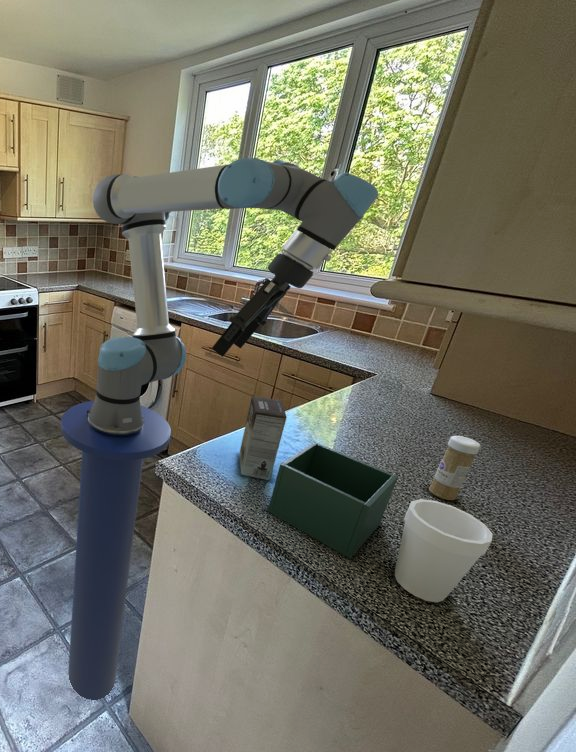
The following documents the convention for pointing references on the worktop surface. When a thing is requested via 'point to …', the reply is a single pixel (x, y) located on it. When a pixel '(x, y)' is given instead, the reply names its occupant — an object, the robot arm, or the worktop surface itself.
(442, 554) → the foam cup
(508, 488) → the worktop surface
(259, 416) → the coffee box
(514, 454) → the worktop surface
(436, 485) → the sprinkles bottle
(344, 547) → the waste bin
